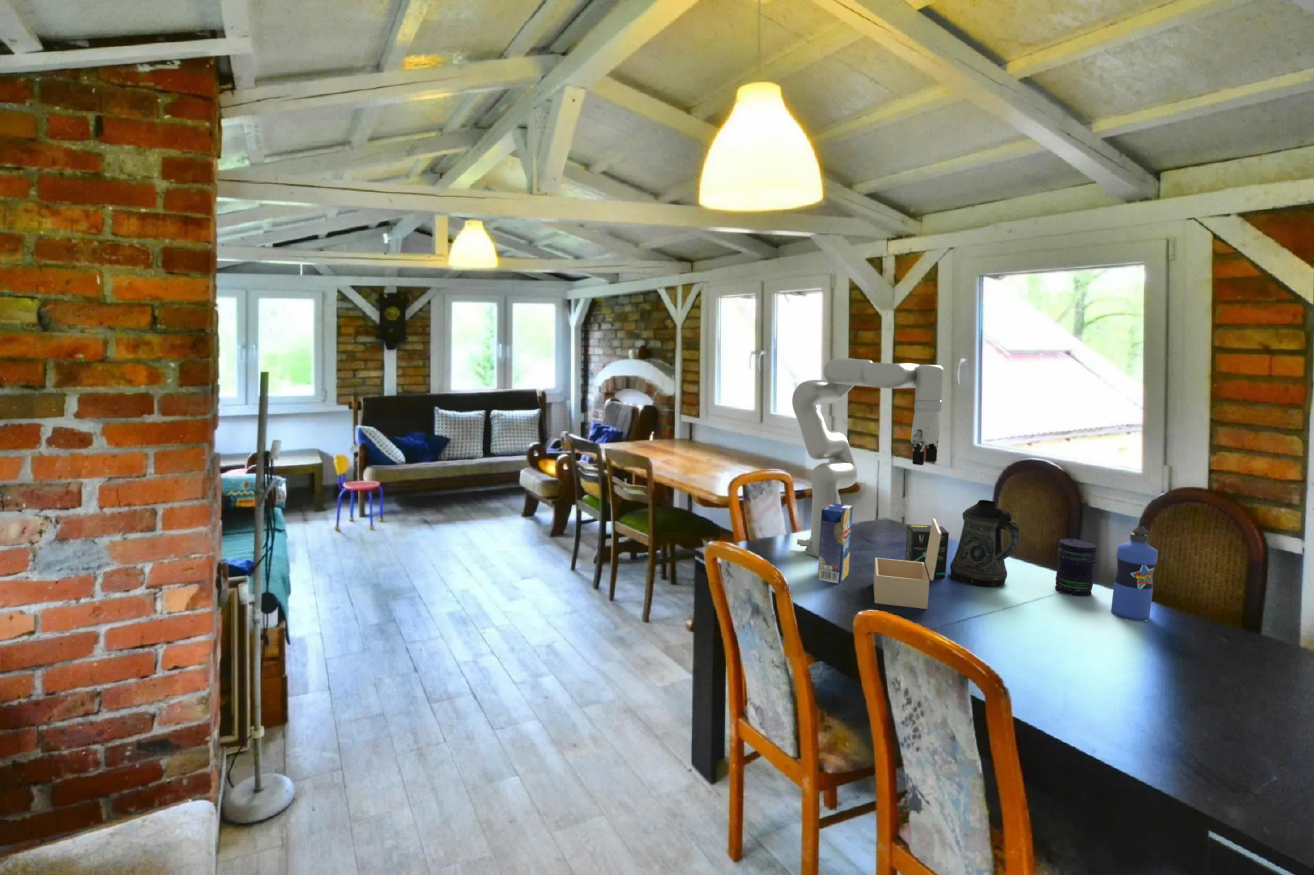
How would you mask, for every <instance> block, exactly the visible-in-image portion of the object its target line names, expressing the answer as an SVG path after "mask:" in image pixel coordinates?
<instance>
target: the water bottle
mask: <svg viewBox="0 0 1314 875" xmlns="http://www.w3.org/2000/svg"><path fill="white" fill-rule="evenodd" d="M1131 531H1132V532H1130V533H1129V534H1130V535H1129V541H1126V542H1123V543H1119V544H1117V549H1116V560H1117V561H1116V563H1117V565H1116V566H1117V568H1116V570H1117V572H1116V575H1115V579H1114V581H1113V582H1114V583H1113V591H1112V599H1111V607H1110V613H1111V614H1112V615H1114V616H1115V617H1118V618H1121V619H1124V620H1127V619H1128V620H1129V621H1133V622H1146V621H1145V620H1148V619H1149V620H1150V616H1151V608H1152V600H1153V592H1154V591H1153V590H1154V581H1153V577H1154V573H1155V570H1156V565H1157V563H1158V556H1159V550H1158V549H1157V548H1155V547H1152V546H1151V545H1149V543H1148V542H1149V535H1148V533H1149V530H1147V529H1146V527H1144V526H1141V525H1136V526H1134V527H1133V528H1132V529H1131ZM1128 620H1127V621H1128ZM1149 620H1148V621H1149Z"/></svg>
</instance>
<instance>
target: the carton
mask: <svg viewBox="0 0 1314 875" xmlns="http://www.w3.org/2000/svg"><path fill="white" fill-rule="evenodd" d="M873 572H874V574H873V595H874V598H873V599H874V600H873V601H874V604H880V605H889V606H897V607H906V608H914V609H922V610H923V609H925V610H927V609H928V604H929V591H930V577H929V576H928V574H927V571H926V567H925V564H924V562H914V561H905V559H903V560H901V559H892V558H891V559H890V558H882V557H874V571H873Z"/></svg>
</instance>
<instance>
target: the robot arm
mask: <svg viewBox="0 0 1314 875" xmlns="http://www.w3.org/2000/svg"><path fill="white" fill-rule="evenodd" d="M823 376H824V377H825V379H811V380H810V379H809V380H805V381H803V382H801V383H799V384H798V385H797V386H796V388H795V389H794V391H793V394H792V398H791V400H792V401H791V404H792V409H793V411H794V416H795V417H796V418H797V421H798V424H799V427H800V431H801V435H802V438H803V442H804V444H805V448H806V450H807V454H808V455H809V457H810V458H811V459H813V460H816V461H819V460H820V461H822V460H828V461H827V462H823V463H820V464H817V465H816V466H815V467H813V469H812V471H811V474H810V483H811V490H812V503H811V504H812V505H811V521H810V522H811V525H810V526H811V527H810V536H809V538H807V539H802V538H801V539H800V538H796V540H797V541H796V545H798V546H799V547H805V548H804V549H805V550H804V552H805V554H807V555H808V556H811V557H814V558H819V548H820V531H821V514H822V509H823V508H825V507H826V506H827V505H829V504H830V503H835V504H842V502H841V496H840V493H839V490H841V489H847V488H849V487H852V486H853V485H854V484H855V483H856V481H857V478H858V470H857V466H856V462H855V459H854V456H853V453H852V449H851V446H850V443H849V441H848V439H847V437H846V436H845V435H844V434H843V433H842V432H839V431H837V430H828V428H827V425H826V421H825V418H824V416H823V415H822V413H821V412H820V410H819V409H818V408H817V405H818V406H820V405H821V406H822V405H833V404H835V403H837V402H839V401H840V400H841V399H842V398H844V397H845V396H846V395H847V394H848V393H849V392H850V391H851V390H852V389H853V388H854V387H855V386H859V387H870V388H882V389H883V388H885V389H897V390H898V389H915V395H914V414H913V421H912V426H911V427H912V429H911V436H910V442H911V446H912V463H911V464H912V465H917V466H923V465H924V464H925V463H924V462H925V461H926V462H933V463H936V462H937V460H938V458H937V457H938V447H939V445H938V443H939V437H940V413H941V412H942V402H943V400H942V398H943V386H944V385H943V383H944V367H943V366H941V365H938V364H919V363H913V362H912V363H911V362H910V363H906V362H905V363H903V362H902V363H901V362H900V363H898V362H897V363H889V362H888V363H887V362H885V363H884V362H873V361H872V360H871V359H860V358H859V359H858V358H851V357H849V358H848V357H846V358H845V357H842V358H841V357H839V358H833V359H829V360H828V361H827V362H826V363H825V364H824V366H823ZM924 449H925V451H924Z"/></svg>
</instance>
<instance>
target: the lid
mask: <svg viewBox="0 0 1314 875" xmlns="http://www.w3.org/2000/svg"><path fill="white" fill-rule="evenodd" d="M931 519H932V520H931V530H930V536H929V542H928V548H927V553H926V559H925V563H926V567H927V570H928V574H929V576H928V578H929V581H934V578H935V577H934V572H935V567H936V561H937V556H938V550H939V544H940V539H941V531H940V529H939V526H940V525H939V524H938V522H937V520H936V518H931Z"/></svg>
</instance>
